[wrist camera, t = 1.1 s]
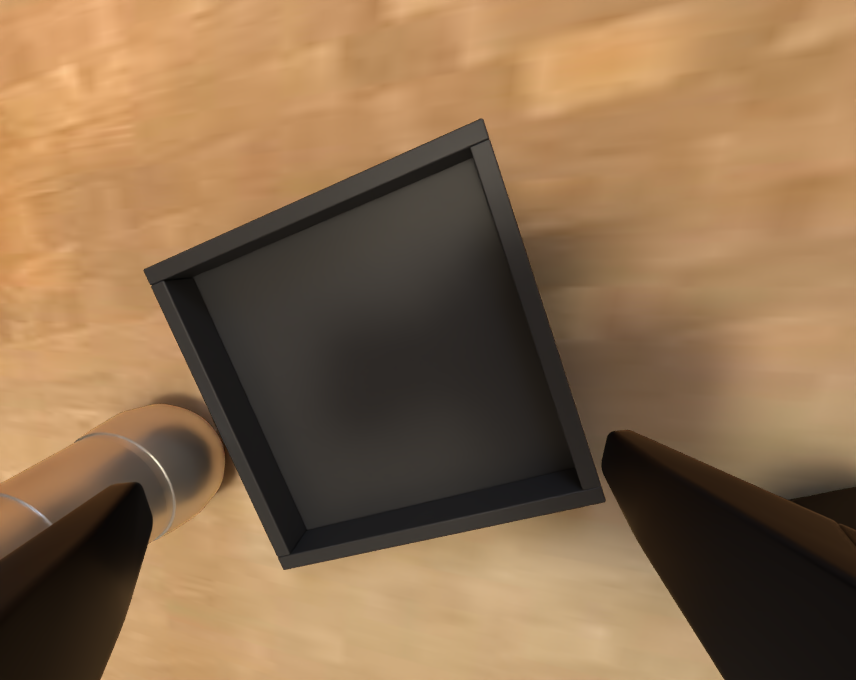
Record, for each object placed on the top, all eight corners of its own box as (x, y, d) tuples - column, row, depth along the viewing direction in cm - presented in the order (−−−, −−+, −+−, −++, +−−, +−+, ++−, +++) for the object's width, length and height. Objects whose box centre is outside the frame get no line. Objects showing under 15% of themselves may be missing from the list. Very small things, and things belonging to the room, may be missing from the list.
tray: (594, 472, 21) (606, 502, 18) (304, 538, 24) (283, 570, 22) (485, 133, 18) (482, 116, 16) (181, 266, 22) (142, 269, 19)
